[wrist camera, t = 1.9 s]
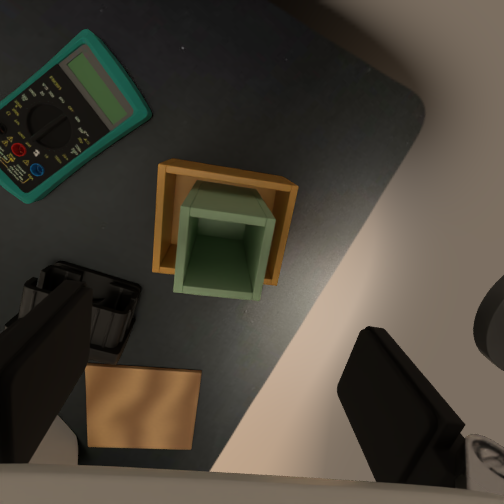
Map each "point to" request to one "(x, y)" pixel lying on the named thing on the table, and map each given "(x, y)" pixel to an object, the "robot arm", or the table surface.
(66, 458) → the alarm clock
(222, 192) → the sage tub
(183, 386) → the cork mat
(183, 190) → the ochre bin
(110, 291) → the end cap
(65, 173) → the digital multimeter
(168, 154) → the table surface
